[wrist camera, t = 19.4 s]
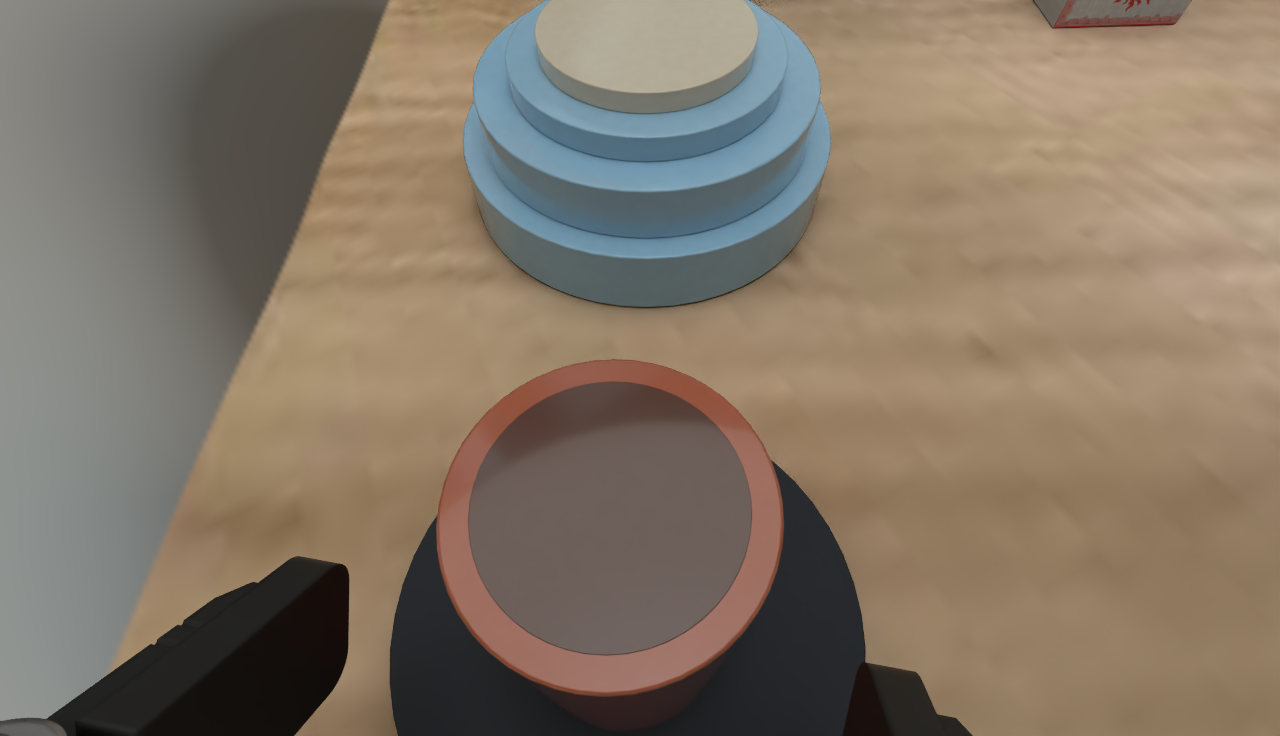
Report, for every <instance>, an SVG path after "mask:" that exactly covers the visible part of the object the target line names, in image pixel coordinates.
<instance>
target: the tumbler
mask: <svg viewBox="0 0 1280 736" xmlns="http://www.w3.org/2000/svg"><path fill="white" fill-rule="evenodd" d="M436 532H437V552H438V558H439V564H440V570H441V574H442V577H443V580H444V583H445V586H446V589H447V592H448V595H449V597H450V599H451V601H452V603H453V605H454V607H455V609H456V611H457V613H458V615H459V616H460V618H461V619H462V621H463V622H464V624H465V625H466V627H467V628H468V630H469V631H470V632H471V634H472V635H473V636H474V637H475V638H476V639H477V640H478V642H479V643H480V644H481V645H482V646H483V647H484V648H485V649H486V650H487V651H488V652H489V653H490V654H491V655H493V656H494V657H495V658H496V659H498V660H499V661H500V662H502V663H503V664H504V665H505V666H507V667H508V668H509V669H510V670H512V671H513V672H514V673H516V674H517V675H519V676H520V677H521V678H523V679H524V680H525V681H527V682H528V683H529V684H531V685H532V686H533V687H535V688H536V689H537V690H539V691H540V692H541V693H543V694H544V695H545V696H547V697H548V698H549V699H551V700H552V701H553V702H555V703H556V704H557V705H559V706H560V707H561V708H563V709H564V710H565V711H567V712H568V713H569V714H571V715H572V716H574V717H575V718H577V719H579V720H581V721H582V722H584V723H587V724H589V725H592V726H594V727H597V728H601V729H606V730H610V731H623V732H626V731H638V730H643V729H647V728H651V727H654V726H657V725H659V724H662V723H664V722H666V721H668V720H670V719H672V718H673V717H675V716H677V715H678V714H680V713H681V712H682V711H683V710H685V709H686V708H687V707H689V706H690V704H691V703H692V702H693V701H694V700H695V699H696V698H697V697H698V696H699V695H700V694H701V692H702V691H703V689H704V688H705V687H706V685H707V684H708V683H709V681H710V680H711V678H712V677H713V676H714V674H715V673H716V671H717V670H718V669H719V667H720V666H721V664H722V663H723V662H724V660H725V659H726V657H727V656H728V655H729V653H730V652H731V650H732V649H733V648H734V646H735V645H736V643H737V642H738V641H739V639H740V638H741V636H742V635H743V634H744V632H745V631H746V629H747V628H748V626H749V625H750V624H751V622H752V621H753V619H754V618H755V617H756V615H757V614H758V612H759V610H760V608H761V607H762V605H763V603H764V601H765V599H766V597H767V595H768V594H769V591H770V589H771V586H772V583H773V581H774V578H775V575H776V572H777V570H778V565H779V560H780V556H781V551H782V545H783V532H784V516H783V502H782V497H781V492H780V487H779V482H778V479H777V476H776V473H775V470H774V467H773V464H772V461H771V459H770V457H769V455H768V453H767V451H766V449H765V447H764V445H763V443H762V442H761V440H760V439H759V437H758V436H757V434H756V433H755V431H754V430H753V428H752V427H751V425H750V424H749V423H748V422H747V421H746V419H745V418H744V417H743V416H742V415H741V414H740V412H739V411H738V410H737V409H736V408H735V407H733V406H732V405H731V404H730V403H729V402H728V401H727V400H726V399H725V398H724V397H722V396H721V395H720V394H718V393H717V392H715V391H714V390H713V389H711V388H710V387H708V386H707V385H705V384H703V383H701V382H700V381H698V380H696V379H694V378H692V377H690V376H688V375H686V374H683V373H681V372H678V371H676V370H673V369H671V368H667V367H664V366H660V365H656V364H653V363H647V362H640V361H634V360H616V359H612V360H595V361H589V362H583V363H577V364H573V365H569V366H566V367H562V368H559V369H555V370H553V371H551V372H548V373H546V374H543V375H541V376H538V377H536V378H534V379H533V380H531V381H529V382H527V383H525V384H523V385H521V386H520V387H518V388H517V389H515V390H514V391H512V392H511V393H510V394H508V395H507V396H505V397H504V398H503V399H501V400H500V401H499V402H498V403H497V404H496V405H495V406H494V407H492V408H491V409H490V410H489V411H488V412H487V413H486V414H485V415H484V416H483V417H482V419H481V420H480V421H479V422H478V423H477V424H476V425H475V426H474V428H473V429H472V430H471V432H470V433H469V435H468V436H467V438H466V439H465V440H464V442H463V443H462V445H461V447H460V449H459V450H458V452H457V454H456V456H455V458H454V460H453V462H452V464H451V466H450V469H449V471H448V474H447V477H446V479H445V482H444V485H443V489H442V493H441V497H440V501H439V507H438V516H437V525H436Z"/></svg>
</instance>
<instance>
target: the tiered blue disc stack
mask: <svg viewBox="0 0 1280 736" xmlns="http://www.w3.org/2000/svg"><path fill="white" fill-rule="evenodd" d="M820 93H821V83H820V76H819V71H818V68H817V65H816V62H815V60H814V57H813V56H812V54H811V52H810V51H809V49H808V48H807V46H806V45H805V43H804V42H803V41H802V40H801V39H800V38H799V36H798V35H797V34H796V33H795V32H794V31H792V30H791V29H790V28H789V27H788V26H787V25H786V24H784V23H783V22H781V21H780V20H778V19H777V18H776V17H774V16H773V15H771V14H769V13H767V12H766V11H764V10H762V9H761V8H760V7H758V6H757V5H756V4H754V3H753V2H751V1H750V0H545V1H544V2H542V3H540V4H539V5H538V6H536V7H535V8H534V9H532V10H531V11H530V12H528V13H526V14H524V15H523V16H521V17H519V18H518V19H516V20H515V21H514V22H512V23H511V24H510V25H508V26H507V27H506V28H505V29H504V30H502V31H501V32H500V33H499V34H498V35H497V36H496V37H495V38H494V39H493V41H492V42H491V43H490V44H489V46H488V47H487V48H486V50H485V51H484V53H483V55H482V57H481V58H480V60H479V63H478V65H477V68H476V71H475V74H474V82H473V98H474V102H473V104H472V106H471V108H470V110H469V113H468V116H467V119H466V122H465V127H464V135H463V150H464V158H465V161H466V165H467V168H468V172H469V175H470V178H471V182H472V185H473V188H474V192H475V195H476V199H477V202H478V205H479V209H480V212H481V216H482V219H483V222H484V224H485V226H486V228H487V230H488V232H489V234H490V236H491V237H492V239H493V240H494V241H495V243H496V244H497V245H498V247H499V248H500V249H501V251H502V252H503V253H504V254H505V255H506V256H507V257H508V258H509V259H510V260H512V261H513V262H514V263H515V264H516V265H517V266H518V267H520V268H521V269H522V270H524V271H525V272H527V273H528V274H529V275H531V276H532V277H534V278H535V279H537V280H539V281H541V282H543V283H545V284H547V285H548V286H550V287H552V288H555V289H557V290H560V291H562V292H565V293H568V294H570V295H573V296H576V297H579V298H583V299H587V300H591V301H595V302H599V303H606V304H612V305H619V306H632V307H660V306H674V305H680V304H687V303H693V302H698V301H702V300H706V299H709V298H713V297H716V296H720V295H723V294H725V293H728V292H730V291H733V290H735V289H738V288H740V287H742V286H744V285H746V284H748V283H750V282H752V281H753V280H755V279H757V278H759V277H761V276H762V275H764V274H765V273H766V272H768V271H769V270H770V269H772V268H773V267H774V266H776V265H777V264H778V263H779V262H780V261H781V260H782V259H783V258H784V257H785V256H786V255H787V254H788V253H789V252H790V251H791V250H792V249H793V248H794V247H795V245H796V244H797V243H798V241H799V240H800V238H801V237H802V236H803V234H804V232H805V230H806V228H807V226H808V224H809V222H810V220H811V217H812V213H813V210H814V207H815V203H816V200H817V197H818V193H819V190H820V187H821V183H822V180H823V177H824V173H825V170H826V166H827V163H828V159H829V155H830V144H831V135H830V129H829V122H828V119H827V116H826V113H825V110H824V108H823V105H822V104H821V102H820Z"/></svg>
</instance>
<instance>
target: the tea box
mask: <svg viewBox="0 0 1280 736" xmlns="http://www.w3.org/2000/svg"><path fill="white" fill-rule="evenodd" d="M1191 1H1192V0H1034V2H1035V3H1036V4H1037V6H1038V7H1039V9H1040V10H1041V11H1042V13H1043V14H1044V16H1045V17H1046V19H1047V20H1048V21H1049V23H1050V24H1051V26H1052V27H1053V28H1063V27H1096V26H1130V25H1164V24H1175V23H1176V22H1177V21H1178V19H1179V18H1180V16H1181V15H1182V14H1183V12H1184V11H1185V9H1186V8H1187V7H1188V5H1189V4H1190V2H1191Z"/></svg>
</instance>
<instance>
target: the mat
mask: <svg viewBox="0 0 1280 736" xmlns="http://www.w3.org/2000/svg"><path fill="white" fill-rule="evenodd" d="M771 461H772V460H771ZM772 464H773V467H774V470H775V473H776V476H777V479H778V482H779V487H780V492H781V497H782V502H783V516H784V532H783V545H782V551H781V556H780V560H779V565H778V570H777V572H776V575H775V578H774V581H773V583H772V586H771V589H770V591H769V594H768V595H767V597H766V599H765V601H764V603H763V605H762V607H761V608H760V610H759V612H758V614H757V615H756V617H755V618H754V619H753V621H752V622H751V624H750V625H749V626H748V628H747V629H746V631H745V632H744V634H743V635H742V636H741V638H740V639H739V641H738V642H737V643H736V645H735V646H734V648H733V649H732V650H731V652H730V653H729V655H728V656H727V657H726V659H725V660H724V662H723V663H722V664H721V666H720V667H719V669H718V670H717V671H716V673H715V674H714V676H713V677H712V678H711V680H710V681H709V683H708V684H707V685H706V687H705V688H704V689H703V691H702V692H701V694H700V695H699V696H698V697H697V698H696V699H695V700H694V701H693V702H692V703H691V704H690V706H689V707H687V708H686V709H685V710H683V711H682V712H681V713H680V714H678V715H677V716H675V717H673V718H672V719H670V720H668V721H666V722H664V723H662V724H659V725H657V726H654V727H651V728H647V729H643V730H638V731H626V732H623V731H610V730H606V729H601V728H597V727H594V726H592V725H589V724H587V723H584V722H582V721H581V720H579V719H577V718H575V717H574V716H572V715H571V714H569V713H568V712H567V711H565V710H564V709H563V708H561V707H560V706H559V705H557V704H556V703H555V702H553V701H552V700H551V699H549V698H548V697H547V696H545V695H544V694H543V693H541V692H540V691H539V690H537V689H536V688H535V687H533V686H532V685H531V684H529V683H528V682H527V681H525V680H524V679H523V678H521V677H520V676H519V675H517V674H516V673H514V672H513V671H512V670H510V669H509V668H508V667H507V666H505V665H504V664H503V663H502V662H500V661H499V660H498V659H496V658H495V657H494V656H493V655H491V654H490V653H489V652H488V651H487V650H486V649H485V648H484V647H483V646H482V645H481V644H480V643H479V642H478V640H477V639H476V638H475V637H474V636H473V635H472V634H471V632H470V631H469V630H468V628H467V627H466V625H465V624H464V622H463V621H462V619H461V618H460V616H459V615H458V613H457V611H456V609H455V607H454V605H453V603H452V601H451V599H450V597H449V595H448V592H447V589H446V586H445V583H444V580H443V577H442V574H441V570H440V564H439V558H438V552H437V532H436V525H437V517H436V518H435V520H434V521H433V523H432V524H431V525H430V527H429V528H428V530H427V532H426V534H425V536H424V538H423V540H422V542H421V544H420V545H419V547H418V549H417V551H416V553H415V555H414V557H413V560H412V562H411V565H410V568H409V570H408V573H407V575H406V578H405V581H404V583H403V586H402V590H401V594H400V598H399V602H398V605H397V609H396V613H395V618H394V625H393V632H392V640H391V647H390V689H391V698H392V706H393V715H394V721H395V725H396V729H397V733H398V736H842V735H843V730H844V726H845V721H846V717H847V712H848V708H849V704H850V699H851V695H852V690H853V686H854V681H855V677H856V673H857V670H858V668H859V666H860V664H861V663H863V662H865V640H864V631H863V623H862V615H861V610H860V606H859V602H858V598H857V594H856V590H855V586H854V582H853V580H852V577H851V574H850V572H849V569H848V566H847V564H846V561H845V558H844V556H843V553H842V551H841V549H840V547H839V545H838V543H837V542H836V540H835V538H834V536H833V534H832V532H831V530H830V528H829V526H828V525H827V523H826V522H825V520H824V519H823V517H822V516H821V514H820V513H819V511H818V510H817V508H816V507H815V505H814V504H813V502H812V501H811V500H810V499H809V498H808V497H807V495H806V494H805V493H804V492H803V491H802V490H801V488H800V487H799V486H798V485H797V484H796V483H795V481H794V480H793V479H791V478H790V477H789V476H788V475H787V474H786V473H785V472H784V471H783V470H782V469H781V468H780V467H778V466H777V465H776V464H775V463H774V462H773V461H772ZM437 516H438V515H437Z"/></svg>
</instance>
